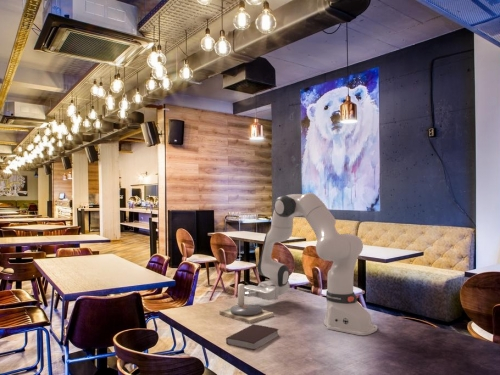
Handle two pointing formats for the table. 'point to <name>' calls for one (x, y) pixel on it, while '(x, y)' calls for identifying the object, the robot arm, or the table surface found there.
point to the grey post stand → (244, 305)
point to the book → (252, 337)
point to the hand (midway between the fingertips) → (246, 294)
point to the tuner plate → (247, 316)
